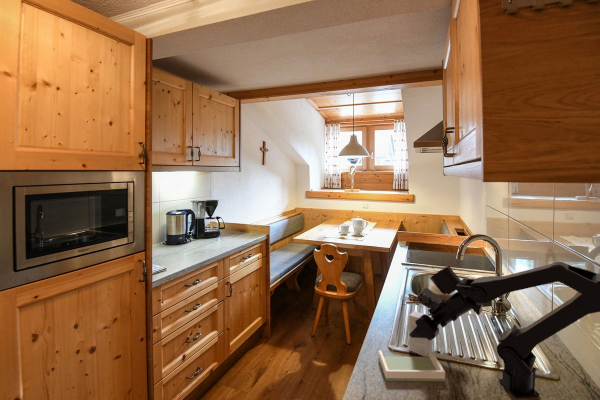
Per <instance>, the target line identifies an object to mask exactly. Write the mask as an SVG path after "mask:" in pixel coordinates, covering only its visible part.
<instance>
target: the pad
mask: <svg viewBox="0 0 600 400" xmlns="http://www.w3.org/2000/svg"><path fill="white" fill-rule="evenodd" d="M378 360H379V365H380V366H381V370H382V372H383V376H384V379H385V381H386V382H387V381H388V382H446V371H445V369H444V368H443V366H442V365H441V363H440V362H439V360H438V359H437V357H436V355H435V353H434V352H433V350H432V351H429V356H428V357H424V356H384V354H383V350H378Z"/></svg>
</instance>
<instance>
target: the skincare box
mask: <svg viewBox="0 0 600 400" xmlns="http://www.w3.org/2000/svg"><path fill="white" fill-rule="evenodd" d="M424 314H425V313H421V312H419V311H412V312H411V313H410V314H409V315H408V351H409V350H410V351H409V352H411V351H413V352H412V353H414V352H415V353H414V354H416V353H417V355H419V356H421V357H429V351H432V352H433V347H432V346H433V339H432V340H428V339H427V338H412V337H411V336H410V335H409V334H410V333H411V332H412V331H413V330H414V329H415V328H416V327H417V325H416V322H415V321H416V320H417V319H418V318H419V317H421V316H422V315H424ZM425 315H427V313H426V314H425ZM428 315H429V314H428ZM429 317H430V318H431V319H432V316H430V315H429Z"/></svg>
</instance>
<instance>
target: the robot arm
mask: <svg viewBox="0 0 600 400" xmlns="http://www.w3.org/2000/svg"><path fill="white" fill-rule="evenodd" d="M429 279H430V280H431V281H432V283H433V284H434V286H435V287H436V288H437V289H438V291H440V293H442V294H443V295H445V297H444V298H442V297H440V296H439V295H437V293H435V292H433V290H430V289H429V288H428V287H425V288H423V289H422V290H421V291H420V293H418V295H417V298H416V300H417V301H418V303H420V304H421V305H422V306H423V307H427V308H428V309H427V312H429V313H428V314H426V315H425V313H423V314H424V315H422V316H421V317H419V318H418V319H417V320H416V321H415V322H416V325H417V327H416V328H415V329H414V330H413V331H412V332H411V333H410V334H409V333H408V336H409V335H410V336H411V337H412V338H427V339H428V340H432V341H433V340H434V339H435V338H437V336H438V335H439V334H440V329H439V325H440V326H441V328H445V327H446V326H447V325H448V324H449V323H452V322H455V321H456V320H458V318H460V317H461V316H463V315H465V314H467V313H468V312H469V311H471V310H472V311H474V313H475V314H476V315H477V316H479V315H481V313H482V312H483V305H484V304H486V303H489V302H492V301H493V300H496V299H498V298H500V297H501V296H503V295H505V294H508V293H513V292H517V291H522V290H525V289H530V288H535V287H539V286H544V285H548V284H553V283H554V284H555V283H560V284H563V285H564V286H567V287H568V288H570V289H572V290H574V291H576V293H575V294H574V295H573V296H572V297H571V298H570V299H568V300H566V301H565V302H563V303H562V304H560V305H559V306H557V307H555V308H554V309H553V310H550V311H549V312H548V313H546V314H544V316H541V317H540V318H539V319H537V320H535V321H534V322H532V323H530V324H529V325H528V326H525V327H522V328H518V326H517V325H516V324H513V325H512V326H511V327H510V328H508V329H507V330H503V331H502V334H501V335H500V337H499V339H498V343H497V345H496V353H497V355H498V357H499V358H500V359H501V360H502V362H503V369H502V377H501V378H499V380H498V382H499V383H500V384H501V385H502V387H504V388H506V389H507V390H508V391H509V392H510V393H511V395H513V397H515V398H530V397H531V398H532V397H533V398H534V397H540V393H539V392H538V391H537V390H535V389H536V388H535V386H536V373H537V370H536V368H535V367H534V365H535V362H536V359H537V356H536V355H535V354H534V353H533V350H534V349H535V348H536V346H538V345H539V344H540V343H542V342H544V341H546V340H547V339H549V338H551V337H553V336H554V335H556V334H557V333H558V332H561V331H562V330H564V329H566V328H567V327H569V326H570V325H573V324H574V323H575V322H577V321H579V320H581V319H582V318H584V317H585V316H588V315H591V314H597V313H600V273H597V272H594V271H591V270H589V269H585V268H581V267H579V266H578V267H577V266H573V265H571V264H568V263H565V262H563V261H554V262H552V263H550V264H547V265H542V266H538V267H534V268H531V269H526V270H523V271H518V272H514V273H511V274H508V275H502V276H497V275H495V276H494V275H492V276H491V275H490V276H489V275H488V276H480V277H476V278H462V279H461V278H459V276H458V275H457V274H456V273H455V271H454V270H453V269H452V267H451V266H450V265H447V266H446V267H444V268H441V269H440V270H438V271H437V272H436V273H434V274H433V275H431V276H430V277H429ZM455 291H456V292H455ZM453 292H455V293H453ZM452 293H453V294H452ZM450 294H452V295H450ZM446 295H447V296H449V297H446ZM429 315H430V316H432V319H431V318H430V317H429Z"/></svg>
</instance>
